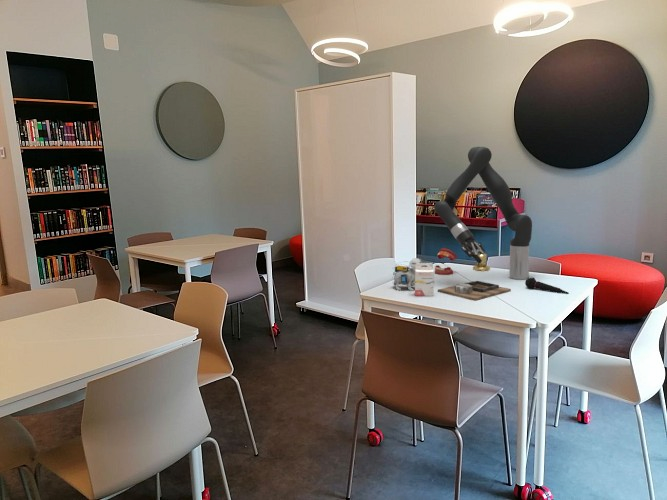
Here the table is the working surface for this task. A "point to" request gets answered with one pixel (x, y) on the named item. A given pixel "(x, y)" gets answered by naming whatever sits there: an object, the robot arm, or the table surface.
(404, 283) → the robotic toy
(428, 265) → the ink cartridge box
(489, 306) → the table surface
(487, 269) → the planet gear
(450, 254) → the anatomical model
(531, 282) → the microphone
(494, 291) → the carrier plate
